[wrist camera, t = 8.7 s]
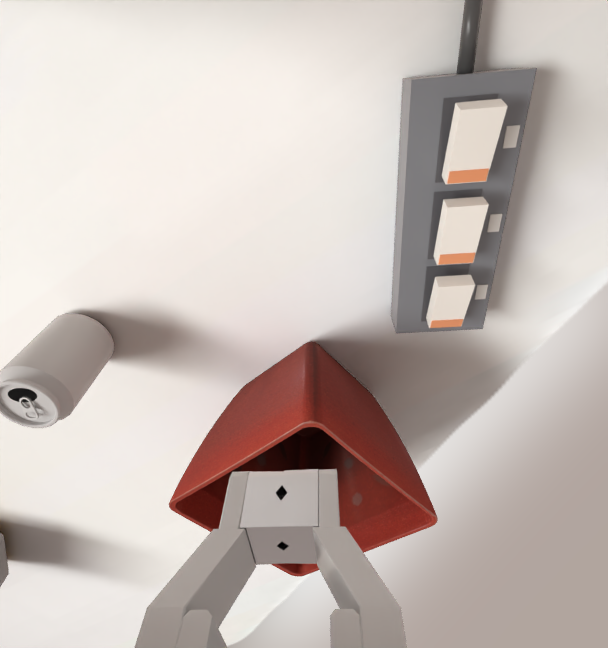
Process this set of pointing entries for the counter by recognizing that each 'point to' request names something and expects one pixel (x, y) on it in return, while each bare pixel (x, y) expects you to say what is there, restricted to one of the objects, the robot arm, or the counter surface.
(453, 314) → the rocker
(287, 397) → the plant pot
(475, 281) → the rocker switch panel
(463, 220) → the rocker
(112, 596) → the counter surface
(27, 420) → the can
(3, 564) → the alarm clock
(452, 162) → the block
